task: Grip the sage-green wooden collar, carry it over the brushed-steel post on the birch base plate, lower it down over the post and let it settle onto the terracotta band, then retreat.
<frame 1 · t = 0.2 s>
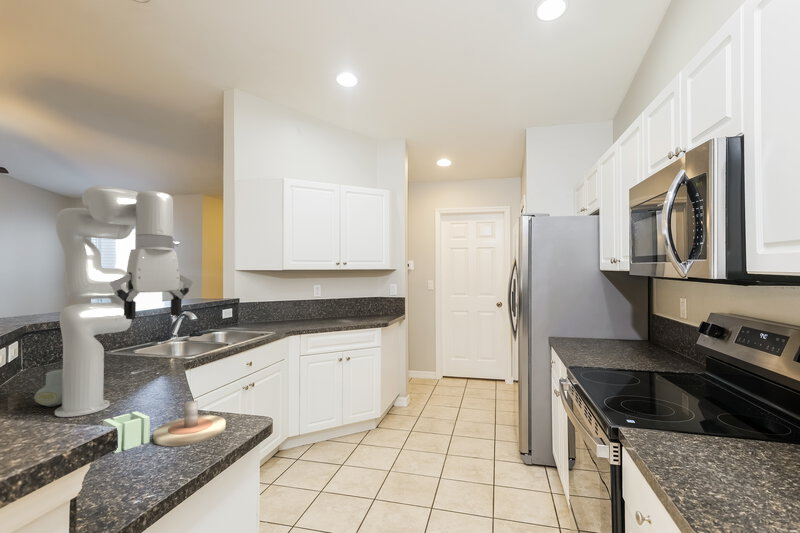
hand: (154, 317, 90), 30 cm above the worktop, fingers open, 9 cm apart
air freshener: (58, 403, 121), on the worktop, touching arm
post base: (190, 432, 97), on the worktop
collar: (126, 444, 91), on the worktop
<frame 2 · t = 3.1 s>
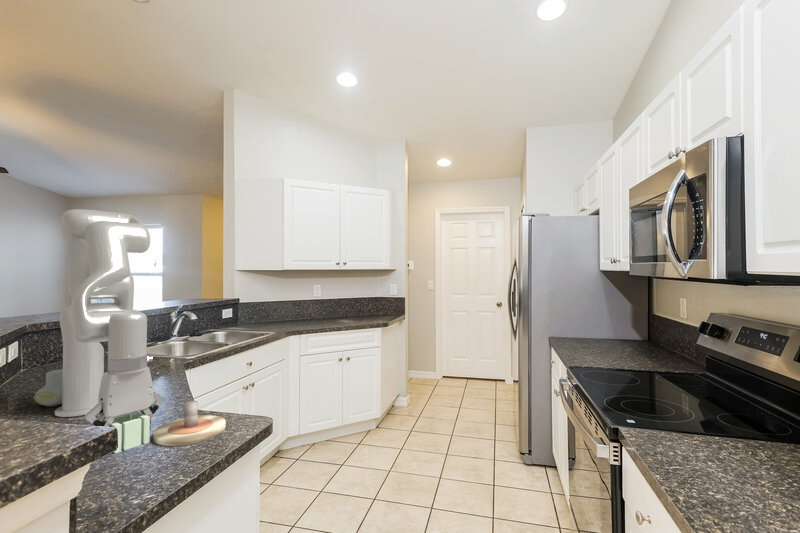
hand: (126, 439, 91), 1 cm above the worktop, fingers closed on collar, 7 cm apart
collar: (126, 444, 91), on the worktop, touching gripper
everything else where it was.
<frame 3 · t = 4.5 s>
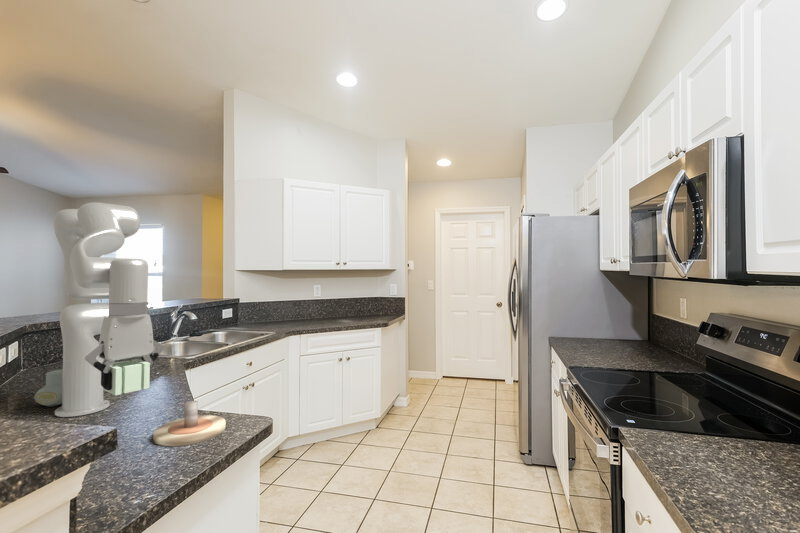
hand: (126, 384, 91), 14 cm above the worktop, fingers closed on collar, 7 cm apart
collar: (126, 388, 91), point 13 cm above the worktop, touching gripper
everything else where it was.
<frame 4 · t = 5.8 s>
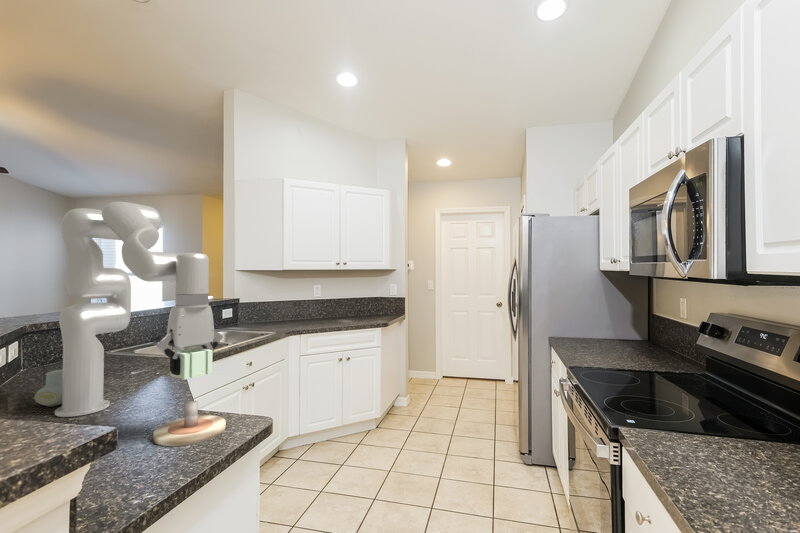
hand: (191, 370, 98), 16 cm above the worktop, fingers closed on collar, 7 cm apart
collar: (191, 374, 98), point 15 cm above the worktop, touching gripper
everything else where it was.
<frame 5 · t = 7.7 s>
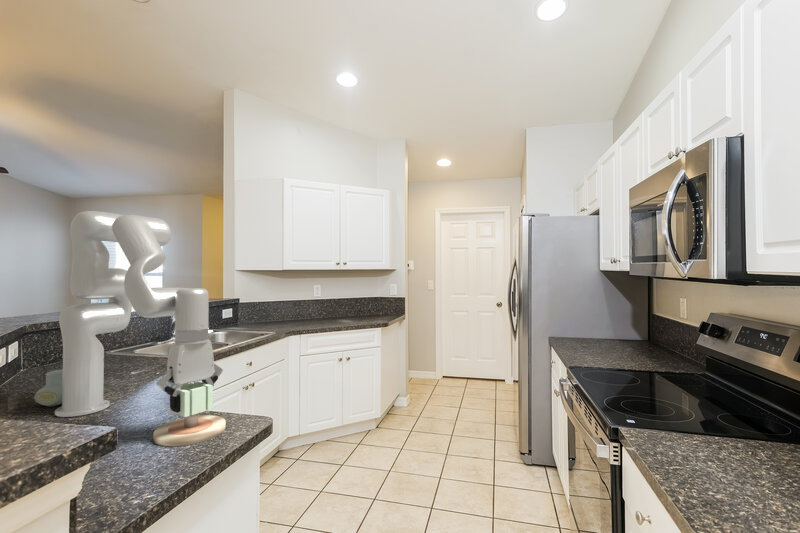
hand: (191, 406, 98), 7 cm above the worktop, fingers closed on collar, 7 cm apart
collar: (191, 410, 97), point 6 cm above the worktop, touching gripper
everything else where it was.
when the fingers open (4 cm above the worktop, at t = 8.9 s): collar drops 1 cm, resting on post base.
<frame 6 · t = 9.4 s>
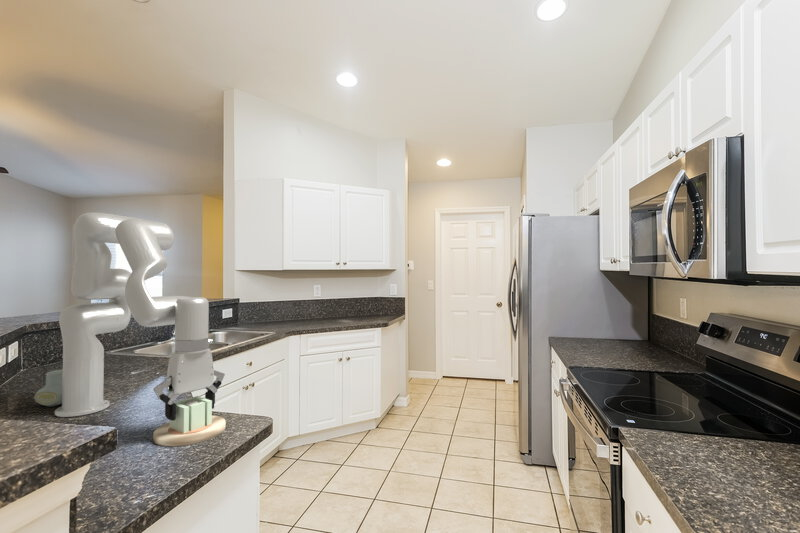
hand: (191, 413, 98), 5 cm above the worktop, fingers open, 9 cm apart
collar: (190, 425, 97), point 2 cm above the worktop, touching post base
everything else where it was.
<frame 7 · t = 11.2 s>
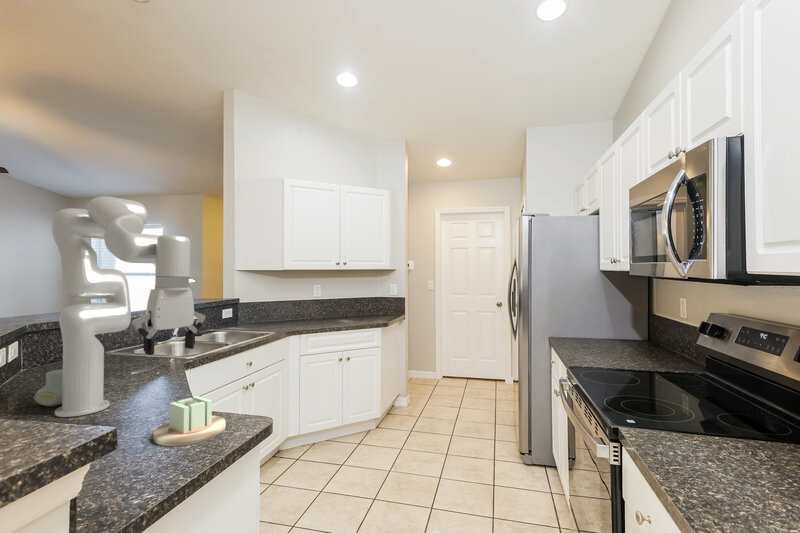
hand: (170, 351, 98), 21 cm above the worktop, fingers open, 9 cm apart
nothing on the worktop moved.
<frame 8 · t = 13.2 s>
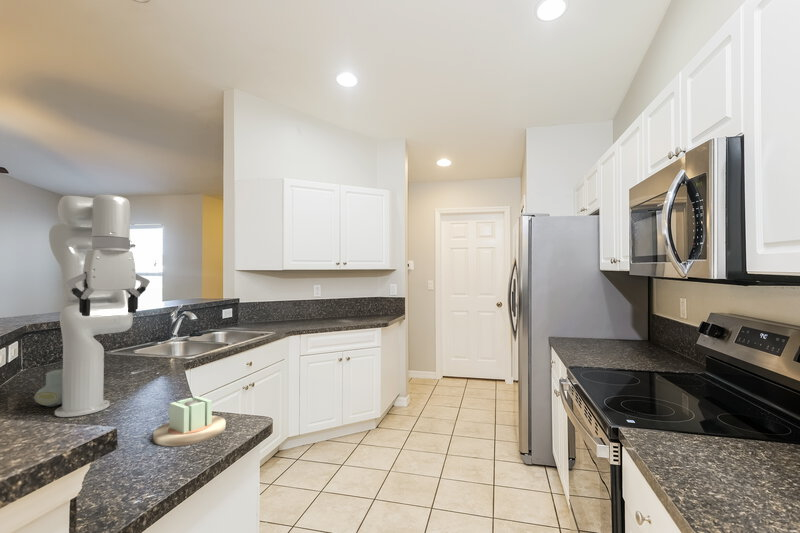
hand: (109, 314, 95), 30 cm above the worktop, fingers open, 9 cm apart
nothing on the worktop moved.
at the end: collar 0.1 cm from the post base (horizontally); collar point 1.7 cm above the worktop; the gripper is holding nothing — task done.
